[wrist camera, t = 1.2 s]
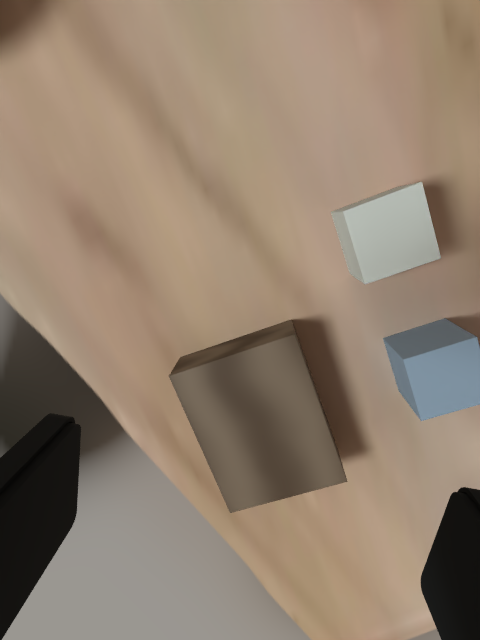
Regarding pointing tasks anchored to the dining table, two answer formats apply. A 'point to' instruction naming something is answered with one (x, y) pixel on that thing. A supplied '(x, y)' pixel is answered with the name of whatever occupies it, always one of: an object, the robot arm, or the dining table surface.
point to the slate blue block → (436, 368)
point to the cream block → (387, 233)
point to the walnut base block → (258, 418)
